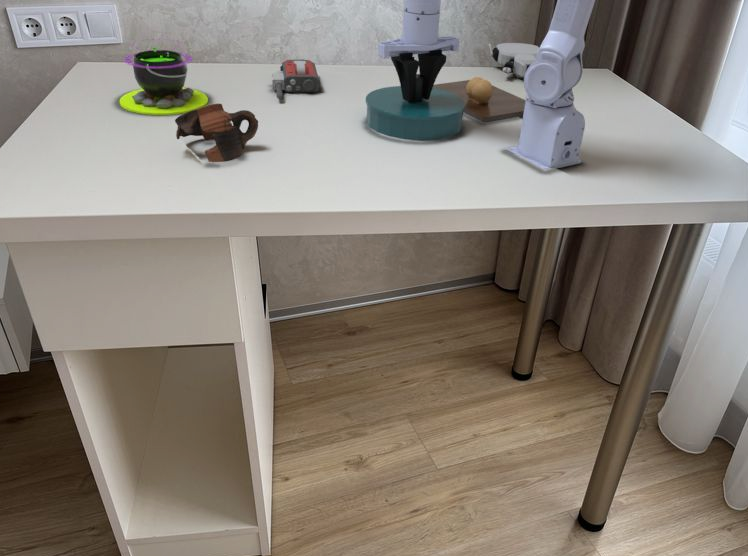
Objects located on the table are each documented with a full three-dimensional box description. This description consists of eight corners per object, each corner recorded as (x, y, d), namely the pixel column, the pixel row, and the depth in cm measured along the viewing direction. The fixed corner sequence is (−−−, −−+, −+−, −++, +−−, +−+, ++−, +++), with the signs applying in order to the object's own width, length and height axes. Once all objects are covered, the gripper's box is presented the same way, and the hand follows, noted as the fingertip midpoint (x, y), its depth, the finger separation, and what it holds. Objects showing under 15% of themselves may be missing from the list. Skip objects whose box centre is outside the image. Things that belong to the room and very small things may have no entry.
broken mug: (192, 173, 100) (167, 116, 97) (193, 177, 108) (170, 125, 106) (270, 144, 102) (248, 88, 100) (265, 151, 111) (244, 100, 109)
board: (542, 114, 129) (543, 107, 128) (483, 124, 122) (484, 117, 122) (476, 84, 142) (477, 78, 141) (420, 92, 136) (420, 86, 135)
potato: (496, 104, 128) (499, 81, 126) (478, 106, 127) (481, 84, 124) (477, 95, 132) (480, 73, 130) (460, 97, 130) (463, 75, 128)
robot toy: (555, 86, 147) (538, 62, 158) (560, 64, 144) (542, 41, 155) (499, 85, 146) (485, 60, 157) (502, 63, 143) (488, 39, 154)
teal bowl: (479, 135, 118) (482, 111, 116) (399, 149, 110) (401, 124, 108) (426, 106, 129) (428, 85, 126) (350, 118, 121) (350, 95, 119)
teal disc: (484, 115, 116) (488, 84, 113) (399, 129, 108) (401, 96, 105) (427, 87, 127) (430, 58, 124) (347, 98, 119) (347, 67, 116)
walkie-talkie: (271, 74, 140) (274, 105, 124) (270, 50, 137) (272, 80, 122) (315, 74, 142) (323, 105, 126) (314, 51, 139) (323, 80, 123)
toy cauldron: (188, 119, 116) (179, 49, 110) (103, 109, 118) (89, 40, 111) (220, 93, 128) (214, 29, 122) (143, 85, 130) (133, 21, 123)
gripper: (444, 3, 115) (437, 87, 123) (368, 8, 108) (366, 97, 116) (470, 12, 110) (461, 99, 118) (392, 17, 103) (388, 109, 111)
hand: (415, 99), depth 117 cm, fingers open, 3 cm apart
